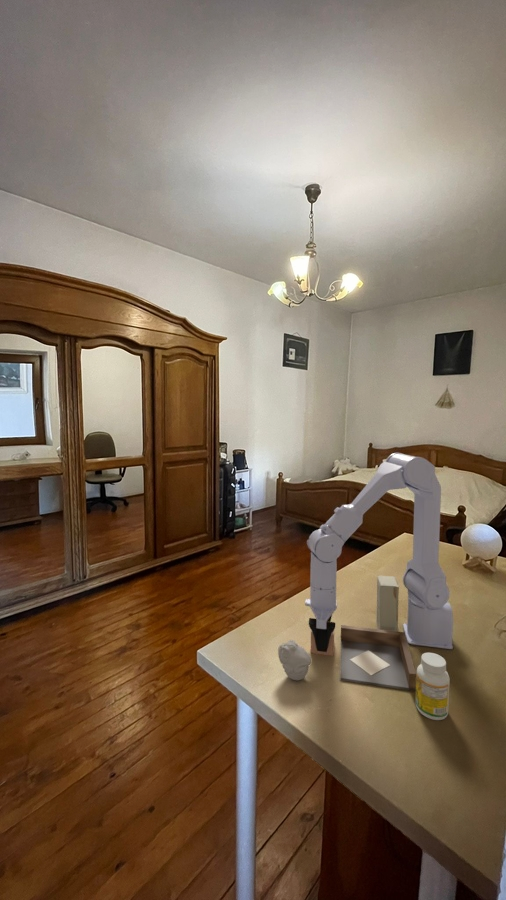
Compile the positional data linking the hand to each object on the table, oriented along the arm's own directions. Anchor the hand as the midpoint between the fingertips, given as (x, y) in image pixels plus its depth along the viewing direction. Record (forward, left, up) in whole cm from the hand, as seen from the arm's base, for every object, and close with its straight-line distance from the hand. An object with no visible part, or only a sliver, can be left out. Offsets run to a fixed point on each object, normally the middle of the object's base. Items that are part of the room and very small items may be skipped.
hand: (322, 641), depth 86 cm
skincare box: (-15, -11, -2) cm, 19 cm away
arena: (-11, +3, -1) cm, 11 cm away
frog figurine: (+5, +11, -2) cm, 12 cm away
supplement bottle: (-20, +14, -2) cm, 24 cm away
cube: (0, 0, -2) cm, 2 cm away
